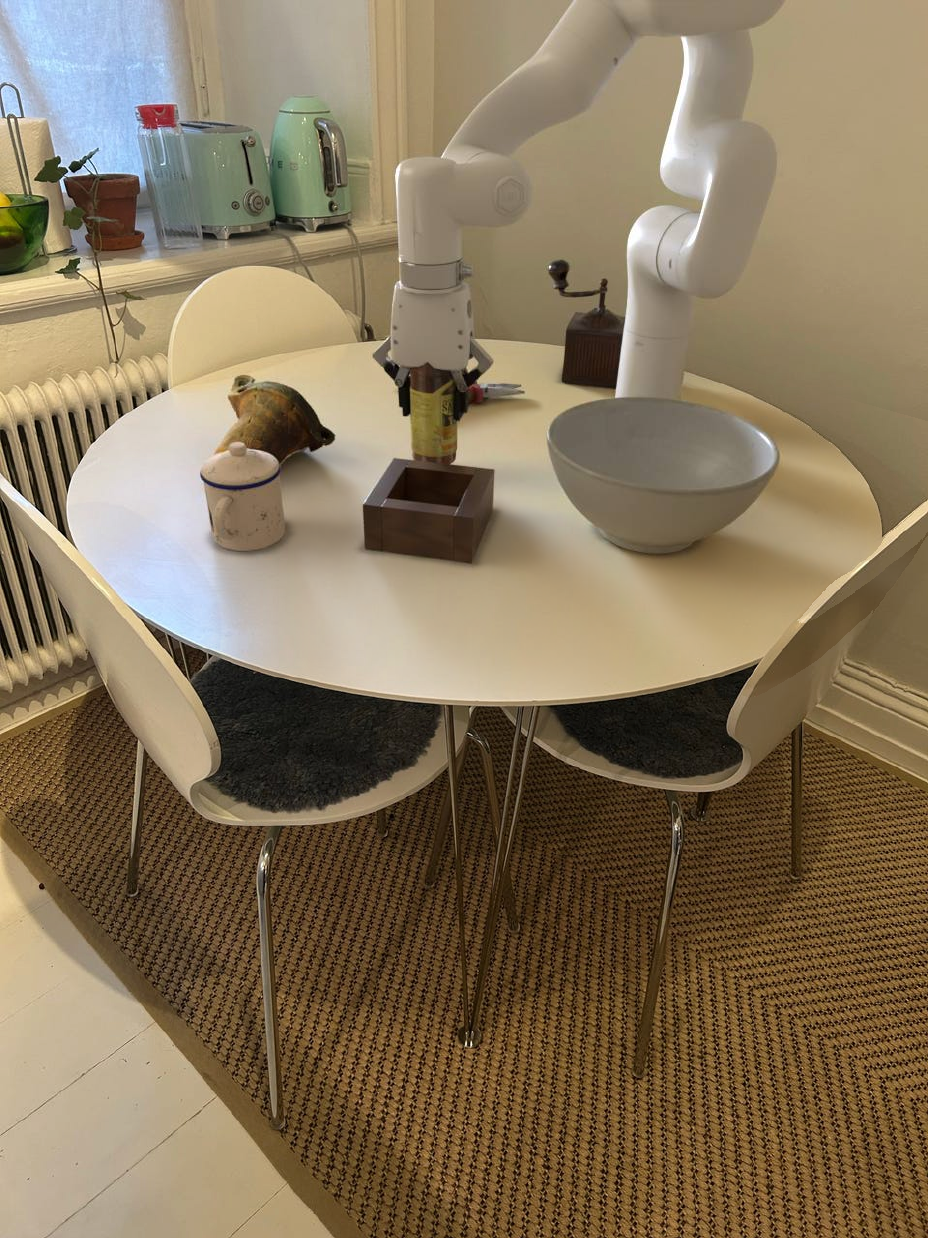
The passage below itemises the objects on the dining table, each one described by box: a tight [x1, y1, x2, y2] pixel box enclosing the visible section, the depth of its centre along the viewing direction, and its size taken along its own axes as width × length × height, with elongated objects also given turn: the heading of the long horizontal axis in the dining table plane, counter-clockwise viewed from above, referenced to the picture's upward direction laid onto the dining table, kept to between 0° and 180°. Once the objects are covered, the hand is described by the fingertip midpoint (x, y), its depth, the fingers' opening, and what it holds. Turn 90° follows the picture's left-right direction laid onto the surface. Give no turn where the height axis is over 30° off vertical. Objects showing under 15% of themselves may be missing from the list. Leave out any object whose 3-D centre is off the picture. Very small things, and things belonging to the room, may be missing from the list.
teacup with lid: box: [199, 442, 286, 552], centre depth 101 cm, size 12×9×12 cm
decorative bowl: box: [546, 397, 781, 554], centre depth 106 cm, size 27×27×12 cm
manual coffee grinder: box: [547, 258, 626, 389], centre depth 149 cm, size 16×11×18 cm
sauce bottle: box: [409, 362, 458, 464], centre depth 114 cm, size 6×6×20 cm
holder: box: [362, 457, 496, 564], centre depth 106 cm, size 13×13×6 cm
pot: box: [212, 374, 336, 466], centre depth 120 cm, size 17×11×18 cm
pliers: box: [409, 375, 526, 404], centre depth 143 cm, size 12×20×3 cm, turn 100°
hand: (433, 413), depth 116 cm, fingers closed on sauce bottle, 6 cm apart
